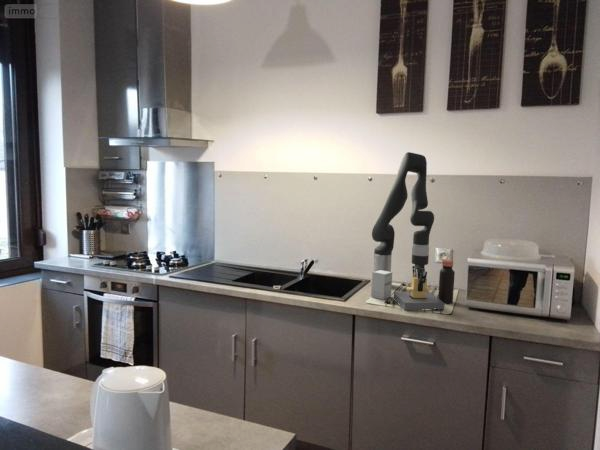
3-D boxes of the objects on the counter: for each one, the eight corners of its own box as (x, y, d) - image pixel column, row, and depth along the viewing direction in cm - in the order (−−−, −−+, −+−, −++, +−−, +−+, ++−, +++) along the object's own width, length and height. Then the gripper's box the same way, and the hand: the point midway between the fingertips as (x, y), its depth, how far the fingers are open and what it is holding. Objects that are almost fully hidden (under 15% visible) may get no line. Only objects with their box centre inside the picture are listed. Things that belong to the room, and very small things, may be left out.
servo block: (405, 295, 221) (406, 274, 220) (428, 295, 222) (429, 274, 220) (408, 297, 217) (409, 276, 216) (431, 297, 218) (432, 276, 216)
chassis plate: (393, 299, 228) (393, 292, 227) (429, 299, 229) (429, 292, 229) (404, 310, 210) (404, 302, 210) (443, 310, 212) (443, 302, 211)
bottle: (443, 304, 221) (445, 262, 218) (435, 300, 227) (437, 259, 225) (455, 303, 222) (458, 262, 220) (447, 299, 229) (450, 259, 227)
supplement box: (383, 299, 226) (384, 274, 225) (370, 296, 231) (371, 271, 230) (391, 297, 232) (392, 272, 230) (378, 294, 237) (380, 269, 235)
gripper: (433, 256, 210) (431, 294, 212) (423, 251, 224) (421, 286, 226) (417, 256, 209) (415, 294, 211) (407, 251, 224) (405, 286, 226)
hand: (418, 289), depth 219 cm, fingers closed on servo block, 4 cm apart
